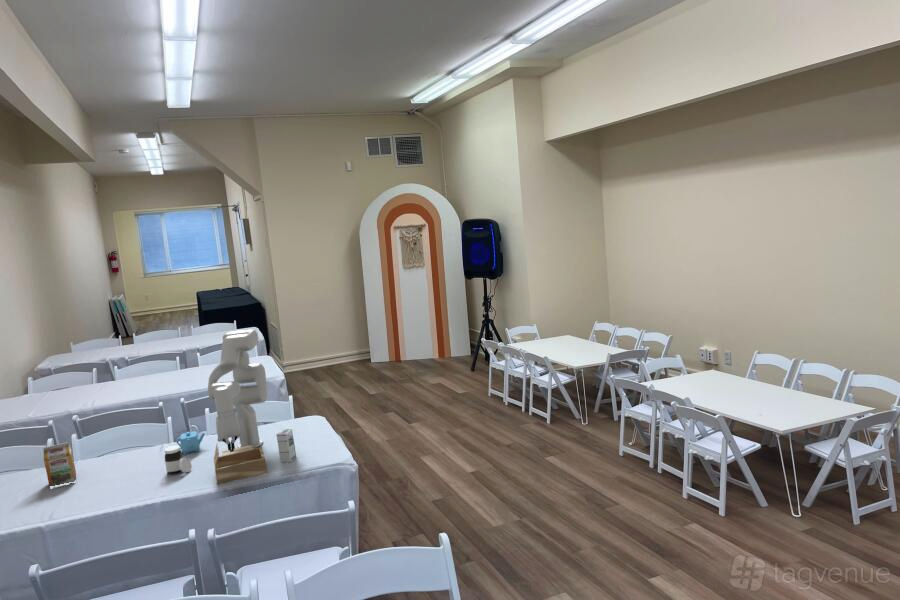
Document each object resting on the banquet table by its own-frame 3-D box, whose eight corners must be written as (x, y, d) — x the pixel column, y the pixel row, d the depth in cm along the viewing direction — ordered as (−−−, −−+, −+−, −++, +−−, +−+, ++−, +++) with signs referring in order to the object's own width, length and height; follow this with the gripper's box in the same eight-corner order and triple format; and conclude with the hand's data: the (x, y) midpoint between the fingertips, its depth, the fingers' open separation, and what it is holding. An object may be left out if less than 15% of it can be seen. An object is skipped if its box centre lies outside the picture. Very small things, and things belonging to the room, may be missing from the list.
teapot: (178, 447, 342) (175, 429, 341) (206, 441, 347) (203, 424, 346) (177, 459, 326) (174, 440, 324) (207, 453, 331) (204, 434, 329)
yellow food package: (50, 489, 303) (42, 451, 300) (51, 481, 313) (44, 444, 309) (75, 483, 308) (68, 445, 305) (76, 475, 317) (69, 438, 314)
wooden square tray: (215, 467, 312) (213, 453, 311) (262, 456, 320) (260, 443, 319) (217, 484, 292) (214, 469, 291) (267, 472, 300) (265, 458, 299)
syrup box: (291, 462, 310) (287, 433, 307) (280, 462, 311) (276, 433, 308) (296, 457, 315) (292, 428, 313) (285, 457, 316) (281, 429, 314)
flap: (215, 457, 305) (214, 457, 304) (218, 443, 304) (216, 443, 304) (216, 467, 292) (215, 467, 292) (219, 453, 292) (217, 453, 292)
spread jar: (169, 468, 316) (165, 445, 314) (193, 464, 318) (190, 441, 316) (165, 478, 304) (161, 455, 302) (190, 473, 307) (186, 450, 305)
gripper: (242, 407, 304) (247, 444, 307) (208, 414, 298) (214, 452, 301) (243, 412, 297) (249, 450, 300) (209, 419, 291) (215, 457, 294)
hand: (231, 451), depth 301 cm, fingers closed
